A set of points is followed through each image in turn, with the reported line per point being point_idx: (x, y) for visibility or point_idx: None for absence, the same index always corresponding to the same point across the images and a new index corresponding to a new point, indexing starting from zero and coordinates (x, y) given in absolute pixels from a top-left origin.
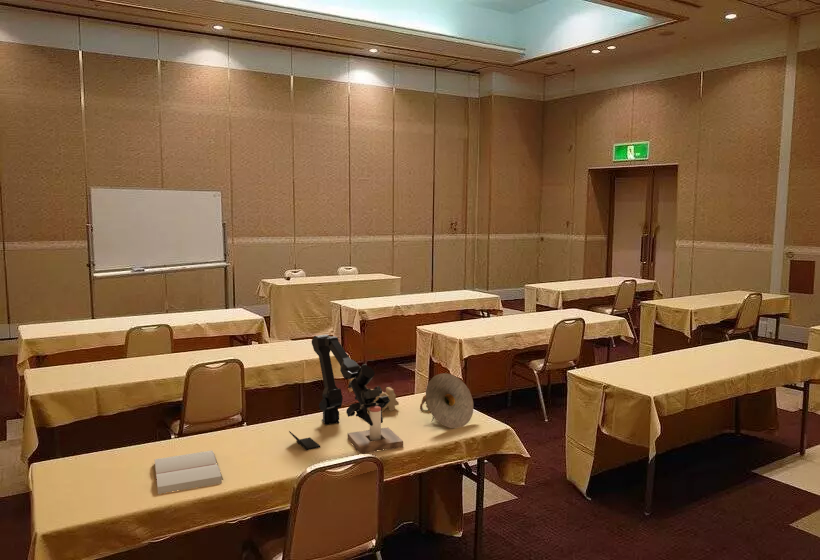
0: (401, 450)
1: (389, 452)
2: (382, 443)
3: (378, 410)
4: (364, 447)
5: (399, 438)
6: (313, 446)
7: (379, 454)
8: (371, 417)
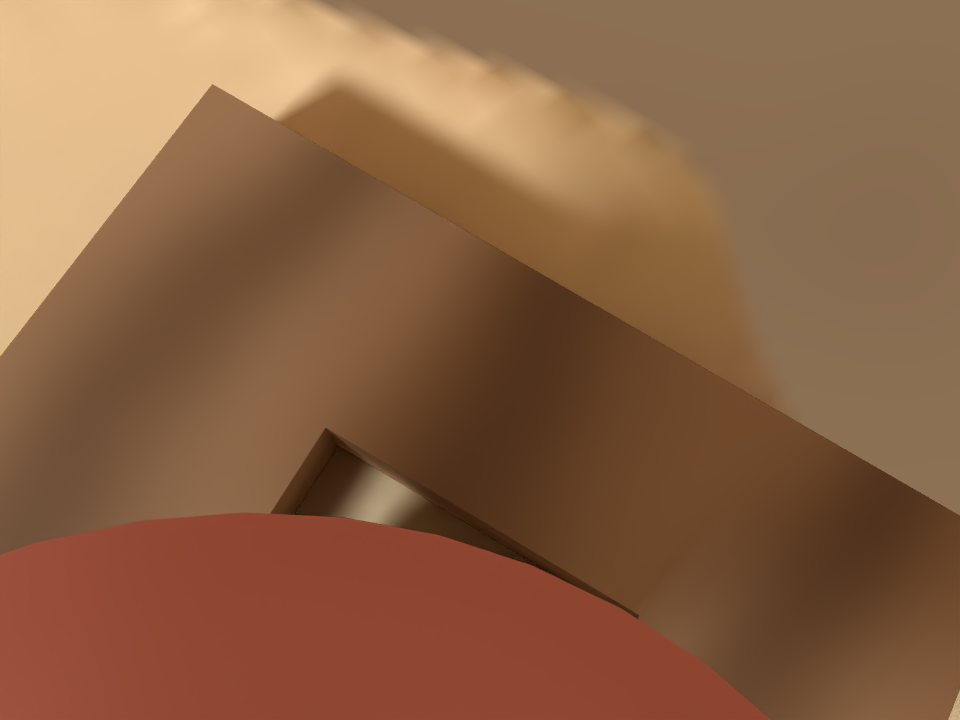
0: (378, 91)
1: (564, 193)
2: (566, 324)
3: (440, 537)
4: (925, 500)
5: (134, 215)
6: None
7: (730, 271)
8: None
